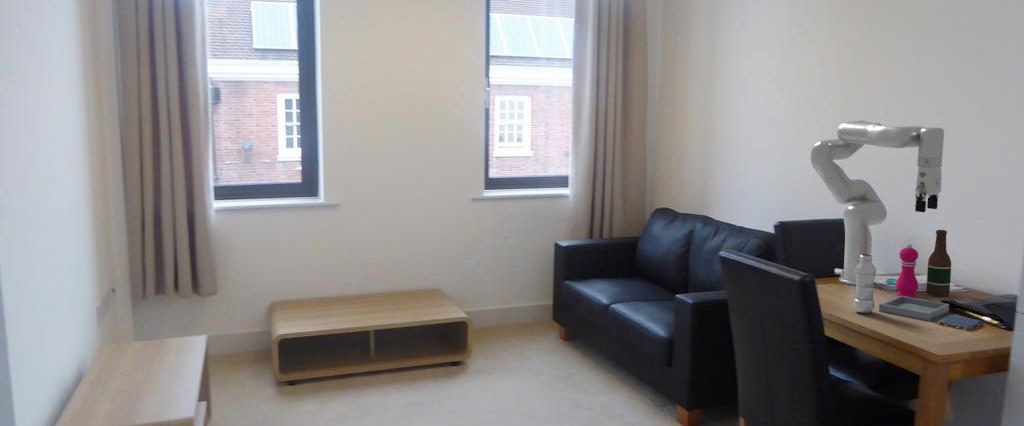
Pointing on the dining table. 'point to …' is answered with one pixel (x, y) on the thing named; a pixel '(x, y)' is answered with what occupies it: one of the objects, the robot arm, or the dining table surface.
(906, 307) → the tray
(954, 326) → the woven mat
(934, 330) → the dining table surface
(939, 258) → the beer bottle
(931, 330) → the dining table surface
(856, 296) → the plastic bottle
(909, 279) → the pepper mill
